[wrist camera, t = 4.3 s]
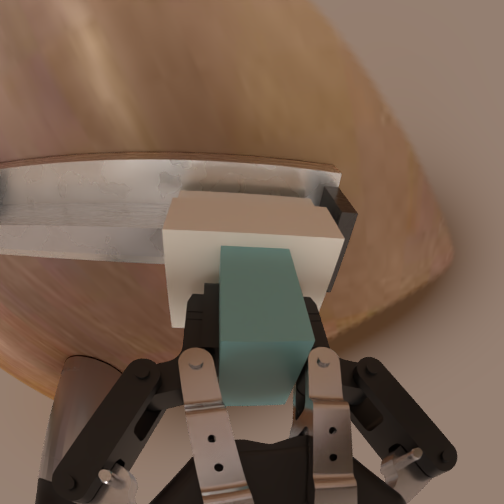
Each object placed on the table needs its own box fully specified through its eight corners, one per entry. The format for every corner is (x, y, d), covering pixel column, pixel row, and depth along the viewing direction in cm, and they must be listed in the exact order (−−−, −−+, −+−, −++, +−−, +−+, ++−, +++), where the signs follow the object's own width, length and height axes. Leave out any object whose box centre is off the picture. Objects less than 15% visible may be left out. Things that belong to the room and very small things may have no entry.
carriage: (313, 185, 18) (388, 323, 9) (294, 266, 21) (330, 405, 13) (180, 176, 17) (136, 322, 8) (181, 262, 20) (163, 408, 12)
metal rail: (334, 165, 19) (362, 198, 15) (310, 258, 24) (326, 302, 20) (-16, 165, 16) (-52, 193, 12) (6, 244, 20) (-20, 279, 16)
